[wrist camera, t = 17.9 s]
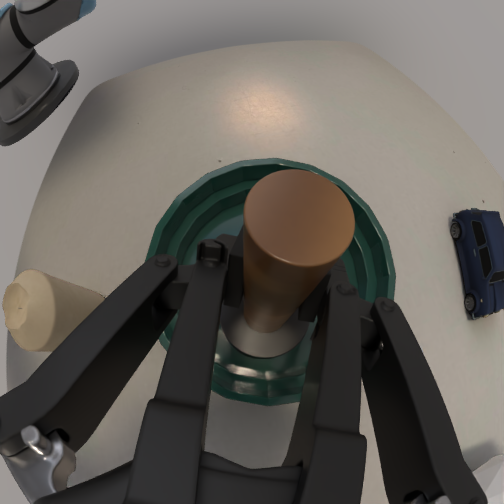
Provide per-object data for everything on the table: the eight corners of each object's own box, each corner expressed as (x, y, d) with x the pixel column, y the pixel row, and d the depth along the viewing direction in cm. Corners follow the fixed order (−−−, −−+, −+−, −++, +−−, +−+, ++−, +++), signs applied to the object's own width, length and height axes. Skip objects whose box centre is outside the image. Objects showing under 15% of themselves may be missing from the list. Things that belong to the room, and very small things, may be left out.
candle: (125, 314, 21) (52, 298, 12) (96, 362, 20) (20, 369, 10) (86, 279, 22) (14, 247, 13) (60, 325, 21) (-15, 312, 11)
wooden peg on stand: (212, 346, 19) (137, 292, 6) (235, 273, 22) (225, 114, 8) (290, 367, 19) (398, 362, 5) (309, 293, 21) (404, 164, 7)
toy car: (466, 322, 21) (503, 315, 16) (444, 213, 24) (474, 190, 19) (495, 311, 21) (529, 303, 16) (475, 213, 24) (503, 193, 19)
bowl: (146, 360, 20) (120, 365, 16) (196, 177, 25) (186, 144, 20) (349, 400, 19) (372, 415, 15) (373, 212, 24) (396, 187, 19)
